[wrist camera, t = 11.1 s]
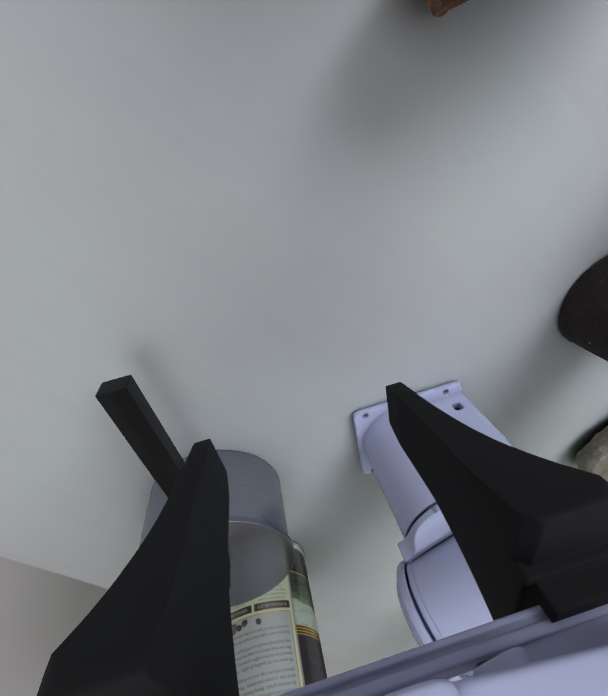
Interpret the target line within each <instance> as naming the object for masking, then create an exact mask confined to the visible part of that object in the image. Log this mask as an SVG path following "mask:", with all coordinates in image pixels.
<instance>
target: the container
mask: <svg viewBox="0 0 608 696" xmlns="http://www.w3.org/2000/svg"><path fill="white" fill-rule="evenodd" d="M559 327H560V331H561V333H562V335H563V336H564V337H565V338H566V339H568V340H569V341H570V342H573V343H575V344H577V345H578V346H580V347H582V348H584V349H586V350H588V351H590V352H591V353H593V354H595V355H597V356H599V357H601V358H603V359H604V360H606V361H608V256H606V257H605V258H603V259H602V260H601V261H599V262H598V263H597V264H595V265H594V266H593V267H592V268H591V269H589V270H588V271H587V272H586V273H585V274H584V275H583V276H582V277H581V279H580V280H579V281H578V282H577V283H576V285H575V286H574V287H573V289H572V290H571V291H570V293H569V295H568V296H567V298H566V300H565V302H564V305H563V307H562V310H561V314H560V323H559Z"/></svg>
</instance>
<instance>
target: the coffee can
mask: <svg viewBox="0 0 608 696" xmlns="http://www.w3.org/2000/svg"><path fill="white" fill-rule="evenodd" d="M292 542H293V541H292ZM293 545H294V549H295V560H294V564H293V567H292V569H291V570H290V572H289V574H288V575H287V576H286V577H285V579H284V580H283V581H282V582H280V583H279V584H278V585H277V586H276V587H274V588H273V589H272V590H270V591H268V592H267V593H265V594H263V595H261V596H260V597H258V598H255V599H253V600H251V601H248V602H246V603H243V604H240V605H237V606H233V607H230V608H231V620H232V632H233V642H234V652H235V662H236V671H237V679H238V688H239V696H278V695H280V694H283V693H286V692H289V691H292V690H295V689H298V688H301V687H303V686H306V685H309V684H312V683H315V682H318V681H321V680H324V679H327V675H326V669H325V664H324V659H323V654H322V649H321V643H320V638H319V633H318V628H317V623H316V617H315V612H314V607H313V602H312V597H311V591H310V586H309V581H308V576H307V570H306V565H305V560H304V551H303V550H302V548H301V547H300V546H299V545H298V544H297V543H295V542H293Z"/></svg>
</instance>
